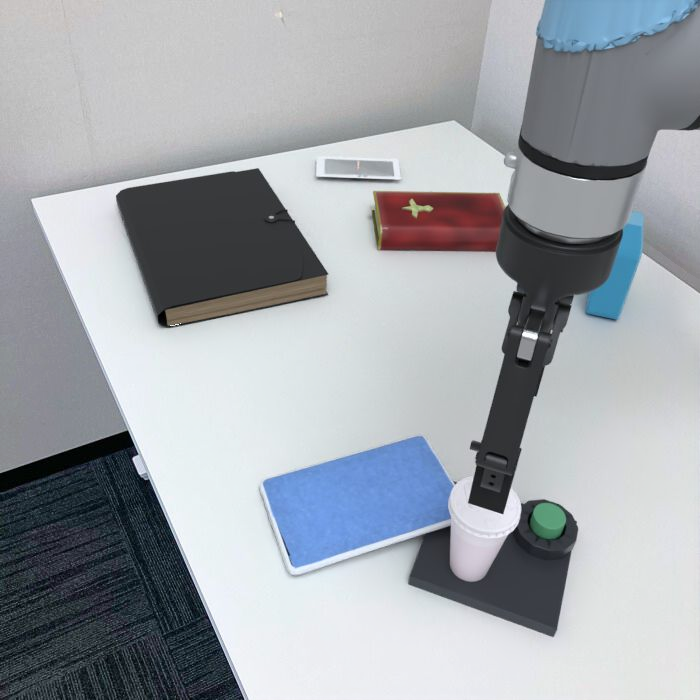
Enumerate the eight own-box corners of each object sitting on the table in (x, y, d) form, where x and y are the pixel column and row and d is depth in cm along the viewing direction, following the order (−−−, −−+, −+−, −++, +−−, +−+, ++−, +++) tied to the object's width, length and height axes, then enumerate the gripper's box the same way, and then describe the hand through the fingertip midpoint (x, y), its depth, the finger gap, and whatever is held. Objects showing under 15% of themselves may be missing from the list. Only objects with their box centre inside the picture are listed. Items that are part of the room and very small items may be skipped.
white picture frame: (316, 161, 138) (316, 150, 136) (397, 164, 138) (398, 153, 137) (315, 182, 132) (316, 170, 130) (400, 185, 132) (401, 173, 131)
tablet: (290, 581, 71) (289, 573, 70) (257, 485, 80) (256, 477, 79) (474, 522, 76) (475, 514, 75) (423, 439, 85) (423, 430, 84)
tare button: (564, 519, 75) (568, 508, 74) (559, 544, 73) (563, 533, 72) (532, 509, 76) (536, 498, 75) (526, 533, 74) (530, 522, 73)
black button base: (574, 528, 78) (581, 511, 76) (554, 638, 68) (561, 621, 66) (444, 486, 81) (448, 468, 79) (407, 584, 72) (411, 567, 70)
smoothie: (463, 525, 76) (487, 430, 66) (515, 566, 72) (547, 472, 63) (422, 562, 72) (440, 467, 63) (474, 607, 69) (502, 513, 60)
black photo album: (330, 271, 104) (155, 307, 96) (329, 295, 106) (159, 332, 99) (259, 165, 127) (113, 188, 119) (260, 187, 129) (118, 210, 122)
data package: (589, 272, 114) (611, 202, 107) (620, 278, 113) (644, 208, 106) (584, 317, 106) (607, 245, 98) (617, 324, 105) (643, 252, 97)
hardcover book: (510, 253, 117) (516, 229, 115) (377, 251, 116) (379, 228, 113) (495, 213, 126) (499, 191, 124) (371, 211, 125) (373, 189, 122)
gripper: (540, 127, 57) (494, 340, 71) (455, 309, 39) (416, 548, 53) (641, 146, 55) (574, 362, 69) (601, 347, 37) (521, 584, 51)
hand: (505, 443), depth 61 cm, fingers open, 13 cm apart
